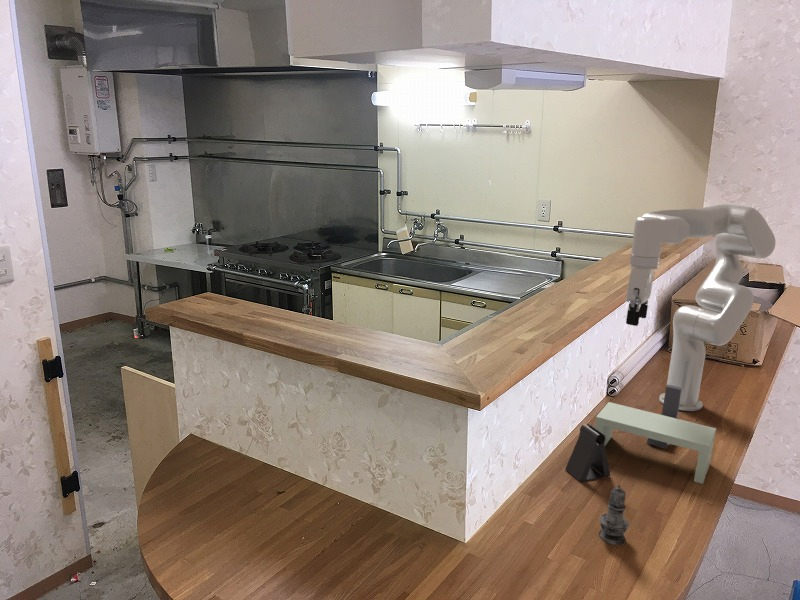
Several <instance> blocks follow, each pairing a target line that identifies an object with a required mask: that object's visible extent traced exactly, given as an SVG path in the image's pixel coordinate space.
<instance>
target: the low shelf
mask: <svg viewBox="0 0 800 600" xmlns="http://www.w3.org/2000/svg"><path fill="white" fill-rule="evenodd" d="M594 428H595V429H597V430H598V431H599V432H601V433H602V434H604V435H605V444H604V445H605V447H606V446H607V444H608V443H609V441H610V440H611V439H612V436H613V429H614V430H617V431H620V432H621V431H622V432H625V433H629V434H631V435H632V434H633V435H636V436H639V437H643V438H647V439H648V438H650V439H654V440H658V441H662V442H665V443H669V444H670V445H673V446H677V447H681V448H684V449H688V450H693V451H696V452H698V456H697V462H696V466H695V473H694V479H693V482H695V483H699V484H701V485H703V484H704V482H705V478H706V476H707V473H708V470H709V467H710V466H711V460H712V454H713V448H714V444H715V443H714V442H715V437H716V432H717V428H716V427H711V426H707V425H703V424H699V423H695V422H692V421H689V420H688V421H687V420H683V419H680V418H677V419H676V418H672V417H668V416H664V415H662V414H659V413H655V412H653V411H652V412H651V411H647V410H643V409H639V408H634V407H631V406H626V405H623V404H618V403H614V402H611V401H608V402H607V403H606V404H605V406H604V407H603V408H602V409H601V411H599V413H598V414H597V415H596V417H595V423H594ZM610 438H611V439H610Z"/></svg>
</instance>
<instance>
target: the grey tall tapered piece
mask: <svg viewBox="0 0 800 600" xmlns="http://www.w3.org/2000/svg"><path fill="white" fill-rule="evenodd" d="M621 487H622V486H621V484H618V485H617V487H613V488H611V490H610V496H609V501H607V503H606V504H607V513H603V514H601V515H600V516H599V518H598V519H599V523H600V527H601V530H600V531H599V532H598V537H599V538H600V539H601V540H602V541H604V542H605V543H607V544H610V545H616V546H617V545H622V544H625V542H626V537H625V535H624V534H626V532H627V530H628V529H629V527H630V523H629V521H628V520H627V519H626V518H625V517H624V511H625V510H626V505H625V500H626V496H627V495H626V491H625V490H624V488H623V489H622V488H621Z"/></svg>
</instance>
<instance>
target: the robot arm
mask: <svg viewBox="0 0 800 600" xmlns="http://www.w3.org/2000/svg"><path fill="white" fill-rule="evenodd" d="M714 235H715V250H716V251H715V254H716V259H715V264H714V266H713V268H712V269H711V271H710V272H709V274H708V275H707V277H706V278H705V279H704V280H703V282H702V284H701V285H700V287H699V288H698V289H697V292H696V294H695V301H696V303H697V304H698V305H699V306H700V307H699V306H696V305H689V304H688V305H687V304H686V305H683V306H680V307H679V308H677V309H676V310H675V312H674V315H673V318H672V319H673V320H672V327H673V328H672V329H673V338H672V339H673V340H672V348H671V354H670V355H671V356H670V362H669V369H668V375H667V381H666V386H667V385H672V386H677V387H681V388H682V393H681V399H680V405H679V411H683V412H684V411H685V412H696V411H700V410H702V409H703V405H704V404H703V402H702V400H700V399H699V395H700V390H701V383H702V379H703V378H702V377H703V372H704V365H705V360H706V352H707V351H706V346H705V344H704V343H706V344H710V345H714V346H724V345H726V344H728V343H729V342H730V341H731V339H732V338H733V337H734V336H735V335H736V333H737V331H738V330H739V329H740V327H741V325H742V324H743V323H744V321H745V320H746V318H747V317H748V316H749V314H750V312H751V310H752V307H753V305H754V299H755V298H754V293H753V292H752V290H751V289H750V288H749V287H747V286H745V285H741V284H739V283H740V281H741V280H742V278H743V275H744V270H743V268H744V267H743V265H742V262H741V260H740V256H743V257H749V258H754V259H765V258H768V257H770V256H771V255H772V254H773V252H774V250H775V248H776V237H775V234H774V232H773V230H772V228H771V227H770V226H769V223H767V221H766V219H765V217H764V216H763V215H762V214H761V213H760V212H759V210H757V209H756V208H755V207H754V208H753V207H750V206H744V205H743V206H742V205H735V204H726V203H725V204H717V205H716V204H715V205H711V206H705V207H699V208H682V209H681V208H680V209H663V210H655V211H649V212H645V213H644V214H643V215H642V216H639V217H637V218H636V219H635V222H634V228H633V236H632V243H631V251H630V252H631V253H630V259H629V265H628V266H629V267H631V269H630V273H629V278H628V284H627V290H626V294H625V302H626V303H628V302H629V304H628V307H627V313H626V321H625V324H627V325H630V326H635V327H638V326H639V324H640V321H639V320H640V319H646V318H647V314H648V307H649V300H650V297H651V293H652V288H653V282H654V274H655V273H654V272H655V270H658V269H659V265H660V258H661V250H662V244H669V245H678V244H681V243H683V242H685V240H687V239H688V238H705V237H710V236H711V237H712V236H714ZM664 397H665V392H664V393H660V394H659V398H658V400H659V402H660V403H661V404H664Z"/></svg>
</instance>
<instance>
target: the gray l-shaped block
mask: <svg viewBox="0 0 800 600" xmlns="http://www.w3.org/2000/svg"><path fill="white" fill-rule="evenodd" d="M664 393H665V397H664V404H663V403H662V404H663V405H662V412H661V415H664V416H668V417H672V418H676V419H678V416H679V412H680V410H679V405H680V399H681V393H682V388H681V387H677V386H672V385H667V384H666V386H665V392H664ZM646 444H647V445H651V446H655V447H658V448H661V449H665V450H667V449H668V446H669V445H668V443H665V442H662V441H658V440H654V439H650V438H647V441H646ZM667 445H668V446H667Z"/></svg>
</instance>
